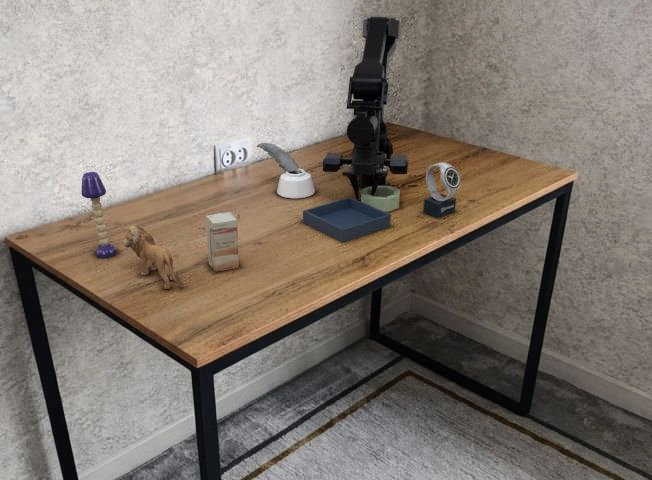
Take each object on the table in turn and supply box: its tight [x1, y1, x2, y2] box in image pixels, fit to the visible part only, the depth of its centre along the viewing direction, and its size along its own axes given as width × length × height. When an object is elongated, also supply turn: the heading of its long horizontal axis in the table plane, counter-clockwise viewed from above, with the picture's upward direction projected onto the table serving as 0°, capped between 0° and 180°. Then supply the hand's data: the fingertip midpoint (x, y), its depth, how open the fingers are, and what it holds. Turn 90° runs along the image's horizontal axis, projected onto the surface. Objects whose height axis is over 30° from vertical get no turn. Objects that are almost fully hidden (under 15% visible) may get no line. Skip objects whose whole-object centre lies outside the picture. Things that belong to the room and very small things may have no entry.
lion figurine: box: [120, 225, 185, 290], centre depth 143 cm, size 15×5×9 cm, turn 50°
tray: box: [302, 196, 392, 243], centre depth 165 cm, size 14×13×3 cm
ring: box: [360, 185, 401, 213], centre depth 175 cm, size 8×8×3 cm
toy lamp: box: [81, 171, 118, 259], centre depth 151 cm, size 5×5×17 cm
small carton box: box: [205, 211, 240, 272], centre depth 147 cm, size 5×4×10 cm
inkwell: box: [256, 142, 316, 200], centre depth 183 cm, size 9×18×10 cm, turn 48°
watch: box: [422, 161, 462, 219], centre depth 168 cm, size 6×8×11 cm
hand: (364, 199), depth 176 cm, fingers open, 3 cm apart
